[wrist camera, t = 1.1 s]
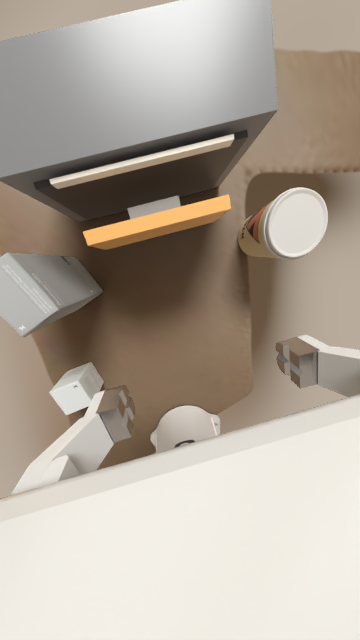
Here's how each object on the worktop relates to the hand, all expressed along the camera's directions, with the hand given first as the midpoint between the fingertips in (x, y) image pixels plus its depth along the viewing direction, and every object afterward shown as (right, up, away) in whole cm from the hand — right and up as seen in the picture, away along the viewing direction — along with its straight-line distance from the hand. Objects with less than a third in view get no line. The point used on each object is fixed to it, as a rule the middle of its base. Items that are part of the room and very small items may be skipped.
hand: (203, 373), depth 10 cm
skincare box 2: (-23, -10, +33) cm, 41 cm away
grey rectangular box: (-8, +28, +23) cm, 36 cm away
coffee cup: (+14, +20, +28) cm, 37 cm away
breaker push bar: (-5, +16, +17) cm, 24 cm away
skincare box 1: (-22, +10, +27) cm, 36 cm away
